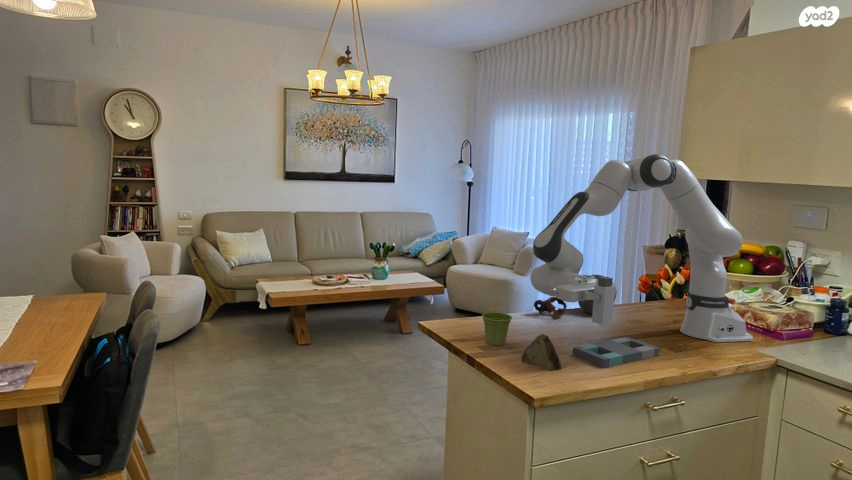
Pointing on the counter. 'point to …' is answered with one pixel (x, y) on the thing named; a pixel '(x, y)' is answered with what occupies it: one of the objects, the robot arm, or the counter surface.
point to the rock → (542, 354)
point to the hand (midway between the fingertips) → (606, 297)
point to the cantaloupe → (588, 304)
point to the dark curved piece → (550, 307)
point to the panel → (615, 352)
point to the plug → (603, 301)
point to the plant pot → (496, 327)
